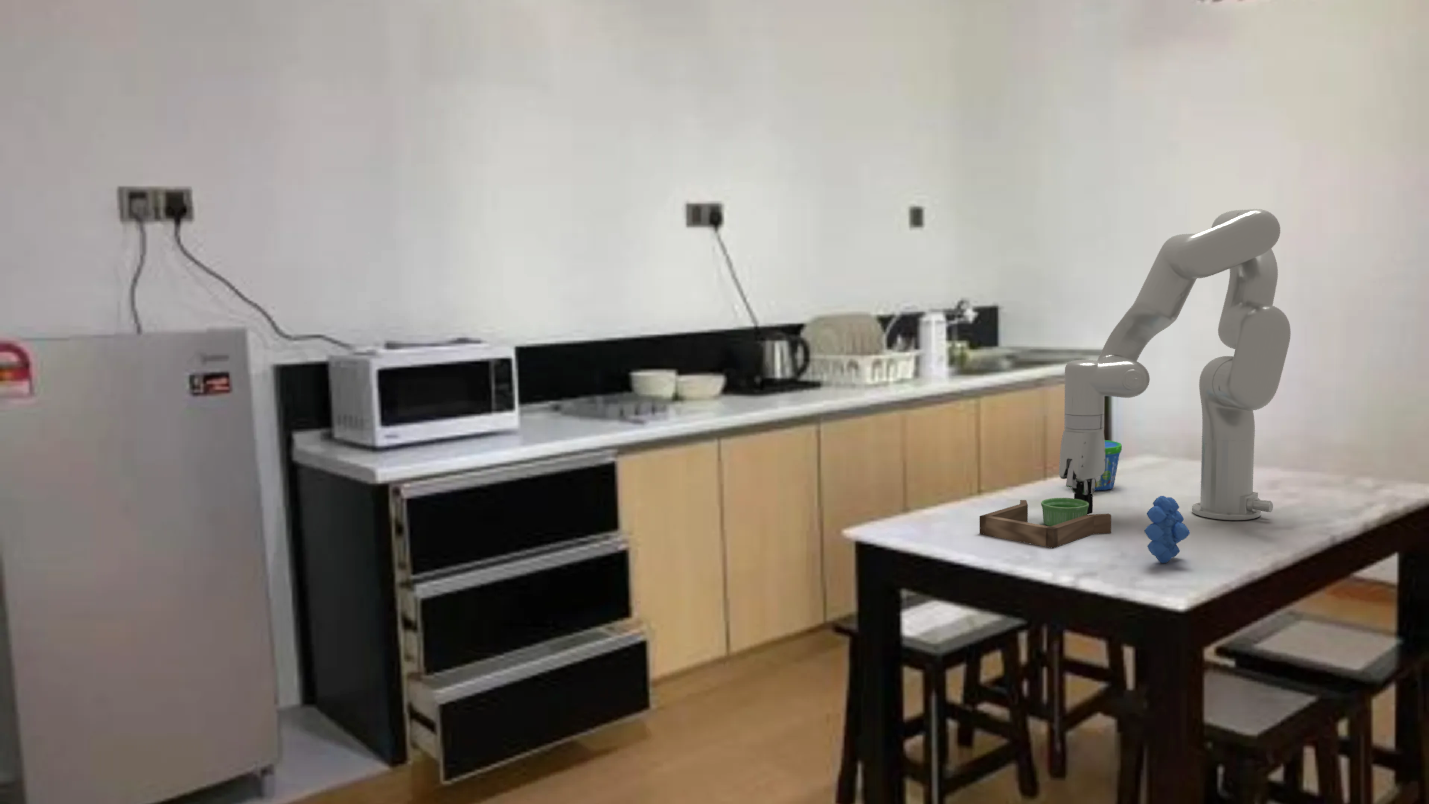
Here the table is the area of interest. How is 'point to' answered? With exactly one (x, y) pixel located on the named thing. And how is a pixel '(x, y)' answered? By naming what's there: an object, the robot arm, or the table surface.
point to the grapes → (1165, 529)
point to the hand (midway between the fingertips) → (1083, 512)
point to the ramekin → (1062, 510)
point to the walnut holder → (1040, 527)
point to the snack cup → (1109, 465)
